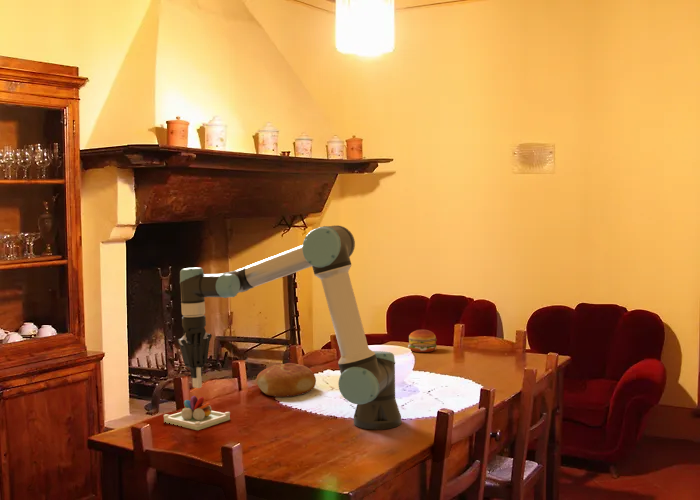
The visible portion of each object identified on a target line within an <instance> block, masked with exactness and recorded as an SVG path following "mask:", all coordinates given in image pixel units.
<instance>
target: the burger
mask: <svg viewBox="0 0 700 500" xmlns="http://www.w3.org/2000/svg"><path fill="white" fill-rule="evenodd" d="M437 340H438V339H437V337H436V334H435V333H434V332H433V331H431V330H428V329H416V330H414V331H412V332H411V333H410V334H409V335H408V345H407V348H409V349H411V350H412V351H411V350H410V351H411V352H415V353H431V352H433V351H435V350H437V348H438V347H437V343H436V342H437Z"/></svg>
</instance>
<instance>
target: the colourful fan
mask: <svg viewBox="0 0 700 500" xmlns="http://www.w3.org/2000/svg"><path fill="white" fill-rule="evenodd" d="M204 401H205V398H204V396H201V397H197V396H195V395H193V396H191V397H190V400H189V399H185V400H184V401H183V404H184V408H182V410H181V411H180V412H181V416H182V418H183V419H185V420H190V419H192V417H194V419H195V420H198V421H200V420H203V419H204V417H205V416H209V415H210V414H211V411H213V409H212V406H211V405H210V404H211V403H210V402H206V403H205V404H204Z"/></svg>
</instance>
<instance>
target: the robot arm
mask: <svg viewBox="0 0 700 500" xmlns="http://www.w3.org/2000/svg"><path fill="white" fill-rule="evenodd" d="M355 246H356V240H355V237H354V235H353V234H352V232H351V231H350V230H349V229H348V228H347V227H345V226H342V225H326V226H325V225H324V226H319V227H317V228H314V229H312V230H310V231H309V232H308V233H307V234H306V236H305V237H304V239H303V241H302V245H299V246H296V247H294V248H291V249H289V250H285V251H283V252H281V253H278V254H276V255H273V256H270V257H268V258H265V259H262V260H259V261H256V262H254V263H252V264H249V265H246V266H243V267H242V268H241V267H240V268H237V269H235V270H232V271H228V272H227V271H226V272H222V273H204V269H203V268H202V267H186V268H182V269H181V270H180V271H179V285H180V286H179V287H180V288H179V289H180V299H181V300H180V302H181V303H180V305H181V315H182V317H181V326H182V328H183V333H182V337H181V338H178V339H177V340H176V341H177V343H178V345H179V348H180V351H181V355H182V359H183V363H184V366H185V367H187V368H189V370H190V378H191V379H192V388H195V389H200V388H202V387H203V384H202V383H203V382H202V377H203V368H204V367H205V366H206V365H207V364H208V358H209V357H208V355H209V350H210V341H211V339H212V334H211V333H208V332H207V331H206V328H205V327H206V325H207V321H206V320H207V319H206V315H205V314H206V303H205V302H206V299H205V298H224V299H227V298H235V297H236V296H237V295H238V294H239V293H244V292H247V291H249V290H251V289H254V288H256V287H258V286H261V285H264V284H267V283H269V282H273V281H275V280H277V279H281V278H283V277H287V276H290V275H292V274H295V273H297V272H300V271H303V270H306V269H309V268H312V272H313V275H314V276H315V277H316V278H318V279H320V281H321V285H322V289H323V293H324V297H325V299H326V304H327V307H328V311H329V316H330V318H331V322H332V326H333V330H334V333H335V337H336V338H335V339H336V340H337V341H336V342H337V345H338V347H339V352H340V358H339V360H338V361H337V362H338V363H337V364H338V368H339V371H340V372H339V373H340V376H339V379H338V390H339V392H340V394H341V395H342V397H343V398H344V399H345V400H346V401H347V402H350V403H352V404H354V405H356V407H355V411H354V414H353V424H354V426H356V427H358V428H360V429H364V430H365V429H366V430H388V429H393V428H396V427H398V426H400V425H401V424H402V414H401V413H400V409H399V405H398V403H397V400H396V360H395V354H394V353H393V352H390V351H383V350H382V351H381V350H371V349H370V348H369V345H368V341H367V337H366V333H365V330H364V326H363V322H362V318H361V315H360V311H359V308H358V304H357V299H356V296H355V293H354V289H353V285H352V280H351V278H350V273H349V271H350V269H351V268H352V262H351V258H350V257H351V256H352V255H353V253H354V250H355V248H356V247H355Z"/></svg>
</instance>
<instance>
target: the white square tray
mask: <svg viewBox="0 0 700 500" xmlns="http://www.w3.org/2000/svg"><path fill="white" fill-rule="evenodd" d="M181 412H182V411H180V412H177V413H173V414H163V423H165V422H166V423H165V424H169V423H170V425H173V424H174V425H173V426H177V425H178V426H179V427H181V426H182V427H183V428H185V429H191V430H195V431H199V430H202V429H207V428H209V427H211V426H212V427H213V426H215V425H218V424H221V423H224V422H227V421H230V420H231V417H230V415H231V412H230V411H225V412H221V411H215V410H212V411H211V414H210V415H209V416H205V417H204V419H203V420H200V421H198V420H195V419H194V417H192V419H190V420H185V419H183V418H182V416H181Z"/></svg>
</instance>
